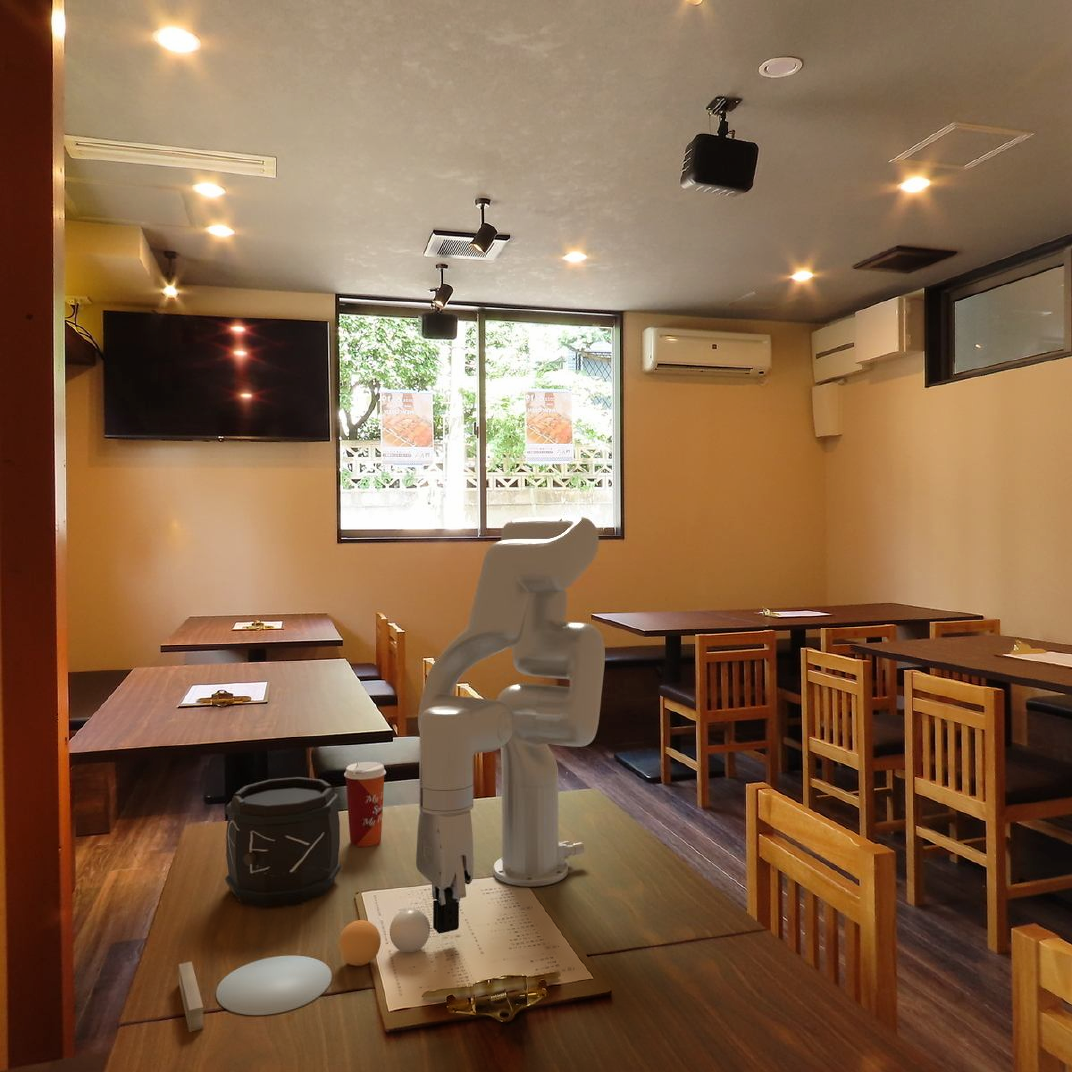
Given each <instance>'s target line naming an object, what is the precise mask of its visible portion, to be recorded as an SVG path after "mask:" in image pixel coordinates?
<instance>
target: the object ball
mask: <svg viewBox="0 0 1072 1072" xmlns="http://www.w3.org/2000/svg"><path fill="white" fill-rule="evenodd" d="M381 938H382V937H381V933H380V931H379V930H378V928H377V927H376V925H375V924H373V923H372V922H371V921H368V920H365V919H364V920H363V919H359V920H355V921H352V922H350V923H349V924H347V925H346V926H345V927H344V929H342V931H341V934H340V935H339V939H338V951H339V953H340V956H341V958H342V959H343V961H344V962H346V963H347V964H349V965H351V966H354V967H355V966H356V967H359V966H360V967H362V966H365V965H367V964H369V963H371V962H372V961H373V960H374V959H375V958H376V956H377V955H378V953H379V951H380V948H381V944H382V943H381Z"/></svg>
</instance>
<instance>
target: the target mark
mask: <svg viewBox="0 0 1072 1072" xmlns="http://www.w3.org/2000/svg"><path fill="white" fill-rule="evenodd" d="M332 974H333V973H332V971H331V969H330V967H329V966H328V965H327V964H326V963H325V962H323V961H321V960H319V959H317V958H313V957H309V956H302V955H279V956H272V957H266V958H261V959H258V960H254V961H252V962H250V963H249V962H248V963H247V964H245V965H243V966H240V967H239V968H236V969H235V970H233V971H231V972H230V973H228V974H227V975H226V976H225V977H224V978H223V979H222V980H221V981H220V982H219V984H218V986H217V988H216V993H215V997H216V1000H217V1003H219V1005H220V1006H221V1007H222V1008H224V1009H225V1010H227V1011H229V1012H232V1013H236V1014H240V1015H246V1016H267V1015H268V1016H269V1015H274V1014H281V1013H285V1012H289V1011H292V1010H295V1009H298V1008H301V1007H303V1006H305V1005H307V1004H309V1003H311V1002H313V1001H315V1000H316V999H317V998H319V997H320V996H322V994H324V993H325V992H326V991H327V990H328V989H329V986H331V983H332V979H333V977H332Z"/></svg>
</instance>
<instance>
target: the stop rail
mask: <svg viewBox="0 0 1072 1072" xmlns="http://www.w3.org/2000/svg"><path fill="white" fill-rule="evenodd" d="M195 973H196V972H195V971H194V965H193V962H192V961H188V962H183V963H179V964H178V986H179V991H180V995H181V1000H182V1004H183V1009H184V1013H185V1017H186V1022H187V1023H186V1024H187V1029H188V1032H189V1033H191V1032H195V1031H199V1030H202V1029H203V1030H204V1005H203V1001H202V997H201V994H200V988H199V986H198V985H199V984H198V981H197V978H196V974H195Z"/></svg>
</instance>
